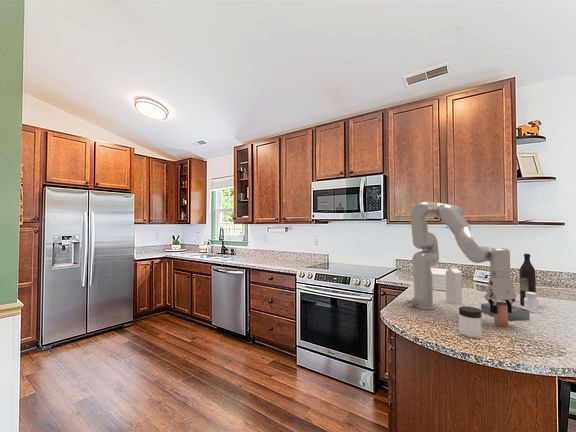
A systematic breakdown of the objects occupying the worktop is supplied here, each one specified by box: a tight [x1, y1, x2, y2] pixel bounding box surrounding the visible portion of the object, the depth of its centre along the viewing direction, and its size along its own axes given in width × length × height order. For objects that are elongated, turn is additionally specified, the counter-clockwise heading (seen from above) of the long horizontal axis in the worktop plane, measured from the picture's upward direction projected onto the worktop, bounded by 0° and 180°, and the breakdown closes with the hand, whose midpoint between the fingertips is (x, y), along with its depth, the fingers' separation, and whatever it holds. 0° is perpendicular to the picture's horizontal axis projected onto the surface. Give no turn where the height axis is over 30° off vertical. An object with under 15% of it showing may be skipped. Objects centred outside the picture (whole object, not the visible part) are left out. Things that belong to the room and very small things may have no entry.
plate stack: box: [430, 267, 450, 292], centre depth 214 cm, size 28×28×12 cm
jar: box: [458, 305, 483, 339], centre depth 120 cm, size 9×8×12 cm
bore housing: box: [480, 302, 531, 322], centre depth 145 cm, size 14×14×5 cm
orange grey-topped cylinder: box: [493, 300, 509, 328], centre depth 131 cm, size 5×5×11 cm
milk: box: [445, 265, 463, 305], centre depth 170 cm, size 6×6×22 cm
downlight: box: [523, 292, 541, 314], centre depth 153 cm, size 8×7×10 cm
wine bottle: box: [519, 253, 537, 306], centre depth 164 cm, size 7×7×30 cm
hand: (500, 312), depth 131 cm, fingers open, 7 cm apart
